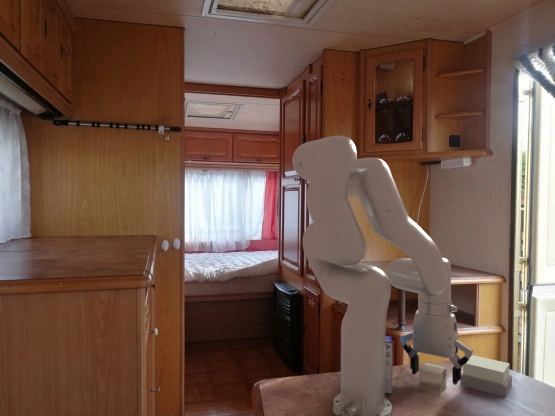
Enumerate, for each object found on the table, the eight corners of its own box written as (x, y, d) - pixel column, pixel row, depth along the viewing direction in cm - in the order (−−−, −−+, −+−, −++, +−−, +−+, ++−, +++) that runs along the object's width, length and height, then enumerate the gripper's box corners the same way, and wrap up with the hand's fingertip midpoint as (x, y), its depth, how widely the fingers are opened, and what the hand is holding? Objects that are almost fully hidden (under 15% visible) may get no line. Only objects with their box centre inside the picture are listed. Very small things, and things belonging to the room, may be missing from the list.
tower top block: (503, 385, 97) (503, 372, 97) (462, 374, 103) (463, 362, 102) (509, 375, 102) (509, 363, 102) (470, 366, 108) (470, 354, 108)
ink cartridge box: (391, 384, 102) (392, 326, 102) (393, 394, 97) (393, 333, 97) (351, 380, 104) (351, 324, 104) (350, 390, 99) (351, 330, 99)
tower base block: (505, 399, 96) (506, 386, 96) (460, 387, 102) (460, 375, 102) (511, 387, 102) (511, 375, 102) (468, 376, 109) (468, 365, 109)
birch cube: (440, 395, 97) (440, 374, 97) (419, 389, 100) (419, 369, 100) (446, 387, 101) (446, 367, 101) (425, 382, 104) (425, 362, 104)
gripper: (476, 309, 98) (476, 380, 98) (405, 299, 109) (405, 364, 109) (468, 317, 92) (469, 392, 93) (394, 306, 103) (395, 374, 103)
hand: (435, 377), depth 101 cm, fingers open, 9 cm apart
